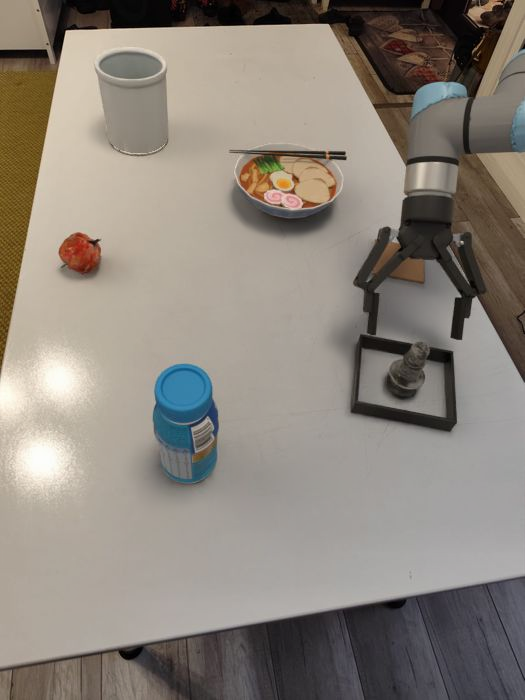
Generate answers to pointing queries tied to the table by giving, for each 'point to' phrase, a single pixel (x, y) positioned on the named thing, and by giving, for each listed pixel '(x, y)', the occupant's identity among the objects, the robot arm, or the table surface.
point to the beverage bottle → (186, 423)
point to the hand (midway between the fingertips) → (413, 336)
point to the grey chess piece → (408, 372)
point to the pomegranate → (80, 253)
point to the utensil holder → (134, 98)
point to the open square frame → (400, 414)
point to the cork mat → (401, 265)
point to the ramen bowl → (289, 178)
